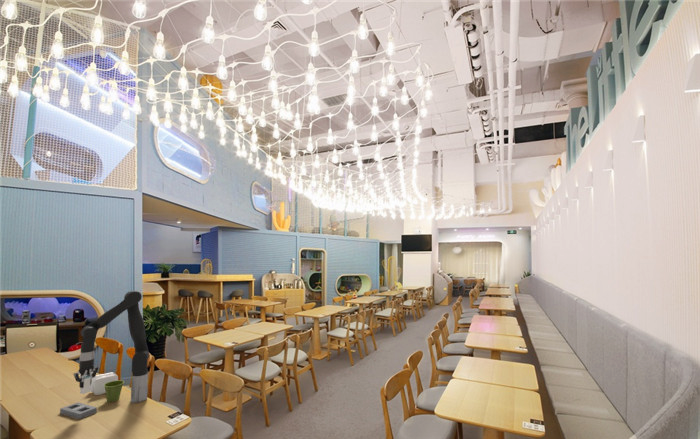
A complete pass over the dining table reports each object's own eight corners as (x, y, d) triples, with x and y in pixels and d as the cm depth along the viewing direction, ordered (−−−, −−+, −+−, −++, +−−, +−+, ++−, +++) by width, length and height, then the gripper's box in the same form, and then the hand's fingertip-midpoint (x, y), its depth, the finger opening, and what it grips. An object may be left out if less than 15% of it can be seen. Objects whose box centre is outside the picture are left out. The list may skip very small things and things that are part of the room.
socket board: (96, 412, 219) (97, 407, 219) (79, 419, 209) (79, 413, 210) (77, 407, 226) (77, 401, 227) (59, 413, 217) (60, 408, 217)
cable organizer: (92, 396, 243) (93, 379, 244) (89, 392, 250) (90, 376, 251) (117, 390, 253) (118, 374, 255) (113, 386, 261) (114, 371, 262)
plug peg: (89, 391, 218) (90, 375, 219) (83, 394, 215) (84, 377, 216) (86, 391, 219) (87, 375, 220) (80, 393, 216) (81, 377, 217)
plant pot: (101, 405, 229) (102, 387, 230) (104, 398, 239) (105, 382, 240) (122, 401, 234) (123, 384, 235) (124, 395, 245) (125, 379, 246)
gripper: (78, 362, 211) (76, 391, 210) (102, 356, 224) (100, 383, 223) (70, 361, 214) (69, 389, 212) (95, 354, 227) (93, 381, 225)
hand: (85, 386), depth 217 cm, fingers closed on plug peg, 3 cm apart
